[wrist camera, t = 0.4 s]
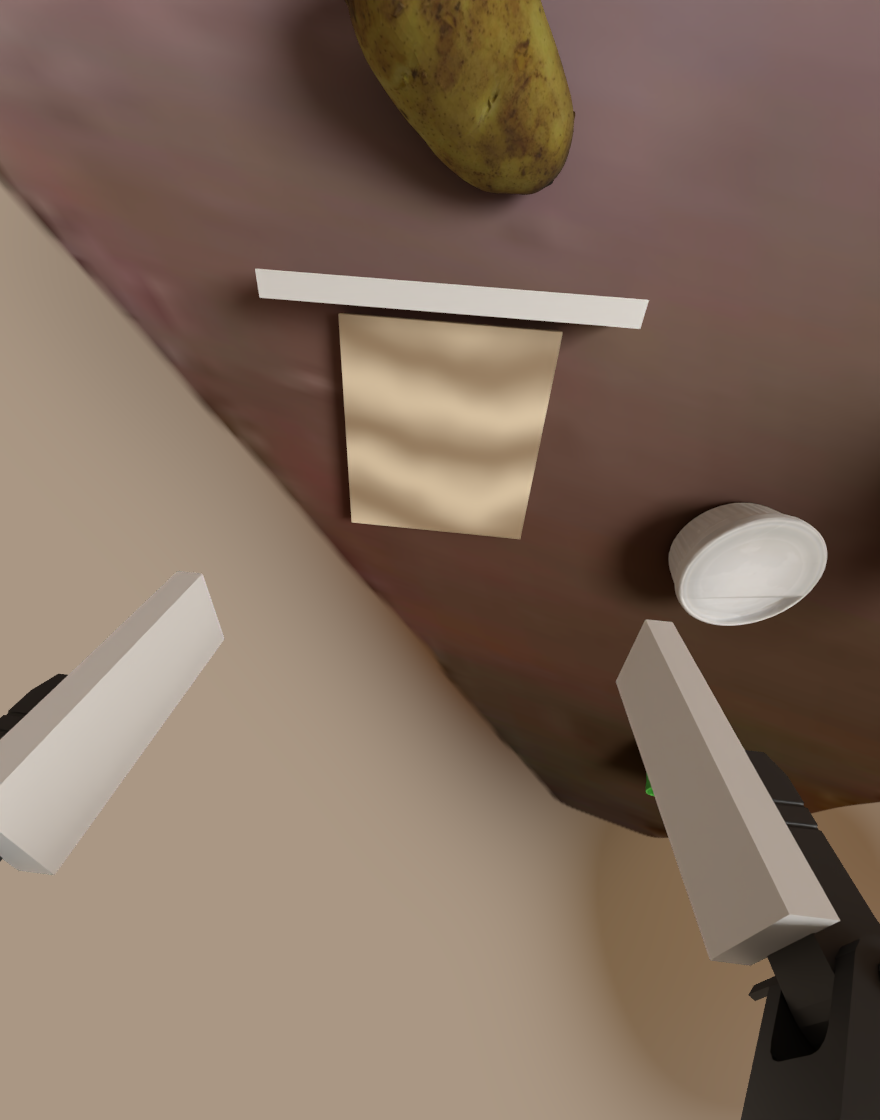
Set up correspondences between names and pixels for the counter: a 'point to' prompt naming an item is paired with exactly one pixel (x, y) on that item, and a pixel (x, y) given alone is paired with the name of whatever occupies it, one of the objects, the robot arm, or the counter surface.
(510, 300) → the divider wall
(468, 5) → the potato
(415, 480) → the cutting board
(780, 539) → the ramekin
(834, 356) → the counter surface
